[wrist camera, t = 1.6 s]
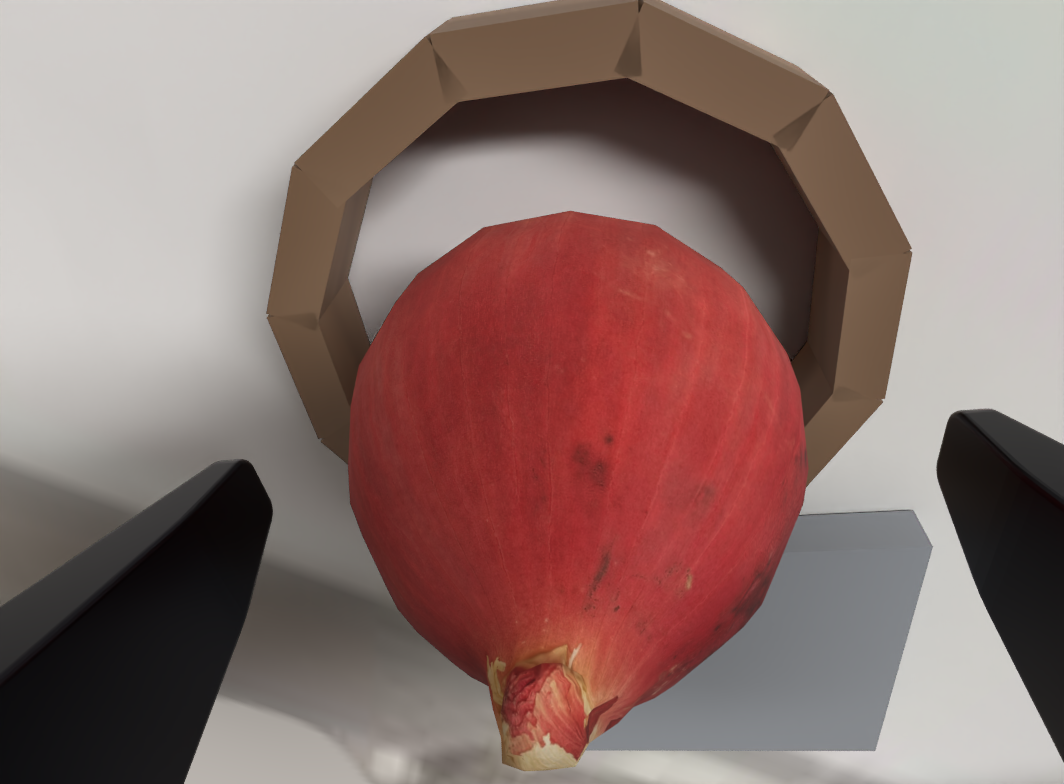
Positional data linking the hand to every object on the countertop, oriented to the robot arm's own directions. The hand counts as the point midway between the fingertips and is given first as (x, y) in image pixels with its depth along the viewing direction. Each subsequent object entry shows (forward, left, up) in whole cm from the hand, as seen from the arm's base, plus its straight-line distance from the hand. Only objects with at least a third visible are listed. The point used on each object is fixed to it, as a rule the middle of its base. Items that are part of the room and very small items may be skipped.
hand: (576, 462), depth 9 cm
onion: (0, 0, -4) cm, 4 cm away
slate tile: (-2, +9, -4) cm, 10 cm away
